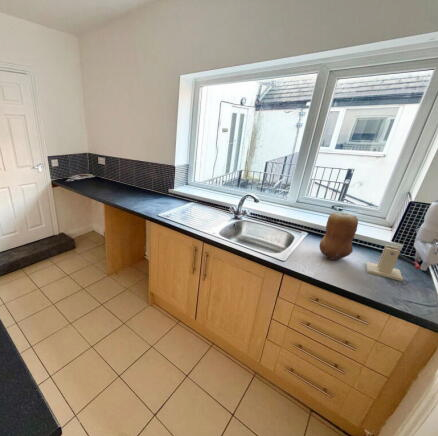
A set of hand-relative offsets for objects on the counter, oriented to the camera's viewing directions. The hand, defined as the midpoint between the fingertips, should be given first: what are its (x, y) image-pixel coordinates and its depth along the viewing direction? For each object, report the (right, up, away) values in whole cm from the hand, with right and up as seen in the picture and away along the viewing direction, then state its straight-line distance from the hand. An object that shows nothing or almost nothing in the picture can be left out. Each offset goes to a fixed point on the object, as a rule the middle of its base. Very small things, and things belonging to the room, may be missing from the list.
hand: (419, 264), depth 107 cm
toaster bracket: (-8, -5, +8) cm, 13 cm away
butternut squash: (-24, 0, +20) cm, 31 cm away
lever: (-5, +2, +3) cm, 6 cm away
